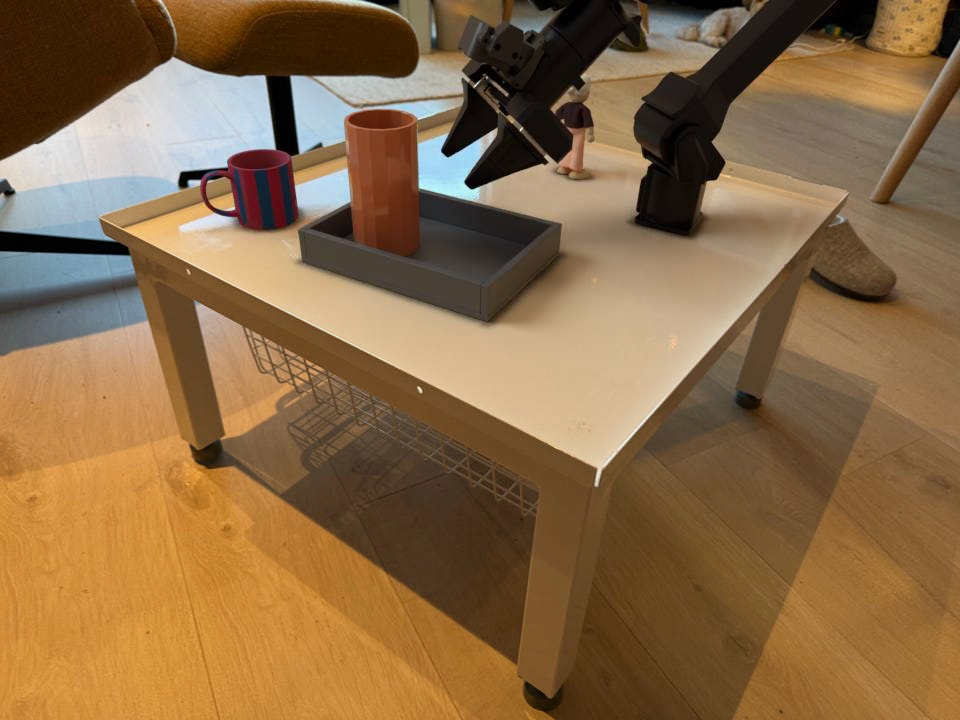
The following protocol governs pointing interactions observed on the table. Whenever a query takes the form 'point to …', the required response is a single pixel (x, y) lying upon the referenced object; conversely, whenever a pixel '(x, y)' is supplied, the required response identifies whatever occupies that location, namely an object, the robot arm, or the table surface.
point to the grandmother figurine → (577, 129)
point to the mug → (259, 189)
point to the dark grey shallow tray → (443, 254)
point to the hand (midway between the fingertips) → (455, 169)
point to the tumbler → (384, 179)
